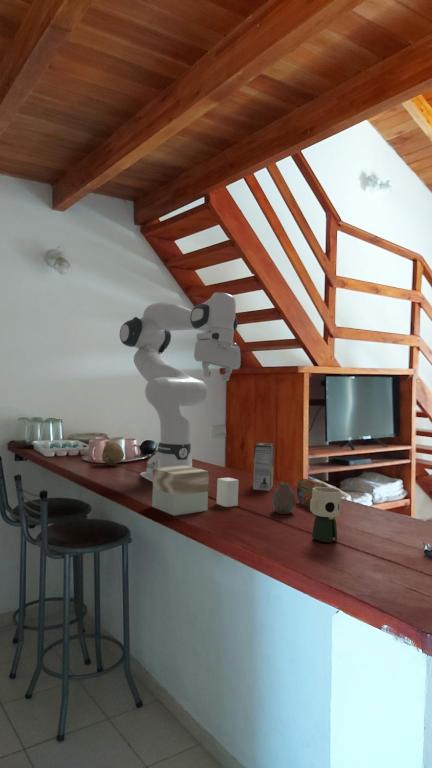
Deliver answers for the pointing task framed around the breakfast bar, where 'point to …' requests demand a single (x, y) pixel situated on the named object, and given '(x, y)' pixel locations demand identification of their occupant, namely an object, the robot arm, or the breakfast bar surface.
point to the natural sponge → (112, 453)
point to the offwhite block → (227, 492)
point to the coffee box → (263, 466)
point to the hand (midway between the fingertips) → (216, 378)
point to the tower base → (180, 502)
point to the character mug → (325, 512)
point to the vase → (283, 499)
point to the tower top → (180, 480)
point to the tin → (307, 490)
